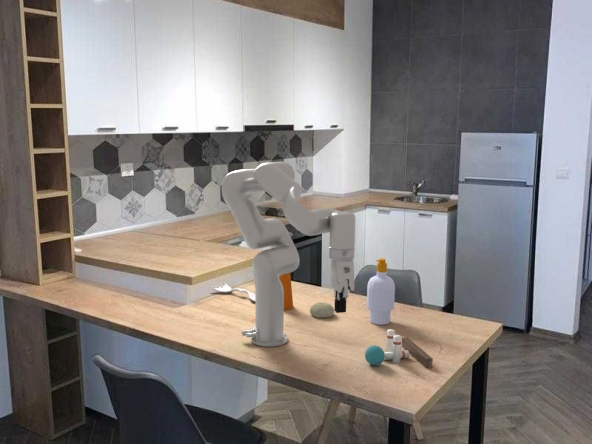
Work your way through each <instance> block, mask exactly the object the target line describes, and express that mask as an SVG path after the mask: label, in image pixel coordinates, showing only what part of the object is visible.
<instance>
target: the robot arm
mask: <svg viewBox="0 0 592 444" xmlns="http://www.w3.org/2000/svg"><path fill="white" fill-rule="evenodd" d="M295 179H296V173H295V170H294V168H293V167H292V165H291V164H289V163H288V162H286V161H271V162H264V163H261V164H259V165H258V166H257V167H256V168H250V169H249V168H247V169H246V168H245V169H237V170H234V171H231V172H229V173H227V174H226V175H225V176H224V178H223V180H222V184H221V195H222V198H223V201H224V202H225V205H226V206H227V209H229V211H230V213H231V214H232V216H233V218H234V220H235V222H236V224H237V226H238V229H239V231H240V233H241V236H242V237H243V239H244V241H245V243H246V245H247V247H248V248H250V249H251V250H257V249H260V250H261V249H263V248H268V249H264V250H261V251H260V252H258V253H256V254H255V256H254V257H253V259H252V263H251V264H252V267H251V268H252V272H253V279H254V289H255V290H254V291H255V301H256V302H255V301H254V302H255V325H253V328H250V329H242V330H241V336H242V337H243V336H244V337H246V338H250V342H251V343H252V344H254V345H255V346H256V345H257V346H258V347H265V348H266V347H267V348H271V347H273V348H274V347H280V346H283V345H285V344H286V343H288V341H289V336H288V335H287V334H286V333H284V323H285V322H284V319H285V318H284V316H285V315H284V313H285V310H284V290H283V286H282V283H281V281H280V279H279V276H281V275H284V274H287V273H290V274H291V273H293V272H295V271H296V270H297V269H298V268H299V266H300V261H301V260H300V255H299V252H298V249H297V247H296V245H295V244H294V241H293V240H292V237H291V235H290V233H289V231H288V228H287V227H286V225H285V224H284V222H282V221H281V220H280V219H277V218H275V217H274V218H273V217H270V218H269V217H268V218H263V216H262V215H261V213H260V211H259V209H258V207H257V206H256V204H255V203H254V201H252V200H251V199H249V197H247V195H253V194H260V193H265V192H266V193H267V194H268V195H270V196H271V197H272V198H273V199H274V200H276V201H277V202H278V203H279V204H280V205H281V206H282V212H283V215H284V216H285V219H286V220H287V222H288V223H289V224H290V225H291V226H292V227H293V228H294V229H296V230H297V232H298V231H299V232H300V233H301V234H303V235H305V236H309V237H313V236H318V235H321V234H327V233H329V246H328V247H329V251H328V252H329V254H328V256H329V257H328V258H329V259H330V267H329V268H330V269H329V277H330V278H329V283H330V285H331V287H332V288H333V289H334V307H333V308H334V313H336V314H339V313H340V314H341V313H342V314H343V313H346V312H347V300H348V298H349V291H350V292H351V293H353V292H355V265H354V259H355V249H356V248H355V247H356V245H355V244H356V221H357V220H356V215H355V213H353V212H350V211H342V210H341V211H340V210H337V209H335V208H331V207H323V208H317V209H312V210H309V209H308V208H306V207H305V206H304V205H302V204H301V203H300V202H299V201H298V200H299V199H300V197H301V195H302V187H301V186H302V185H300V184H299V183H298V182H297V181H296V180H295ZM269 247H270V248H269Z"/></svg>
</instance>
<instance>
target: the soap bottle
mask: <svg viewBox="0 0 592 444" xmlns="http://www.w3.org/2000/svg"><path fill="white" fill-rule="evenodd" d="M375 261H376V262H377V263H376V275H374V276H371V278H369V280H368V282H367V287H366V289H367V290H366V291H367V292H366V308H367V309H368V310H369V321H370V322H371V323H372V324H374V325H378V326H379V325H380V326H383V325H385V326H386V325H388V324H390V322H391V312H392V311H393V310H394V309H395V296H396V295H395V294H396V286H395V285H396V284H395V282H394V280H393V278H391V277H390V276H388V275H387V273H388V272H387V270H388V263H387V262H386V258H378V259H376V260H375Z"/></svg>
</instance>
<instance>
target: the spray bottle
mask: <svg viewBox="0 0 592 444" xmlns="http://www.w3.org/2000/svg"><path fill="white" fill-rule="evenodd" d="M279 279H280V281H281V283H282V286H283V290H284V311H287V310H288V309H289V310H292V309H293V308H294V301H293V300H294V299H293V287H292V276H291V272H290V273H287V274H284V275H281V276H279Z"/></svg>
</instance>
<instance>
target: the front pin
mask: <svg viewBox="0 0 592 444" xmlns="http://www.w3.org/2000/svg"><path fill="white" fill-rule="evenodd" d="M384 355H385V357H384V360H383V361H390V360H391V361H392V360H393V352H386V351H384ZM409 358H410V353H409V351H408V350H405V349H403V350H402V349H401V356H400V360H401V359H403V360H404V359H409Z"/></svg>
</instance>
